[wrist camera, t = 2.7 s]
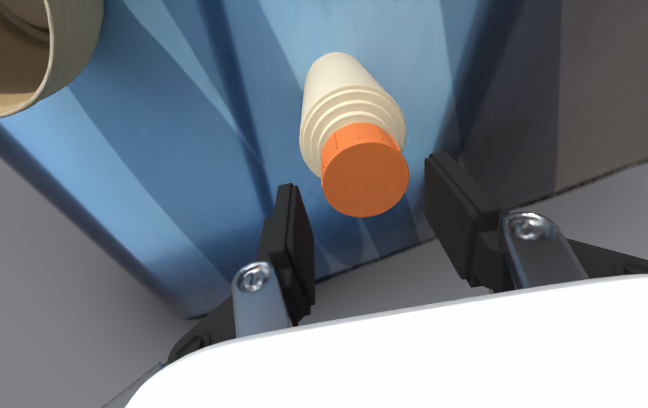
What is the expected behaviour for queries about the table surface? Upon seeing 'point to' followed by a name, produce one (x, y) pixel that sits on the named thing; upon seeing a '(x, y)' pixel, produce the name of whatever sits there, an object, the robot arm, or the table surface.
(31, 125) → the table surface
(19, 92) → the planter bowl
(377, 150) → the cap
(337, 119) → the bottle
